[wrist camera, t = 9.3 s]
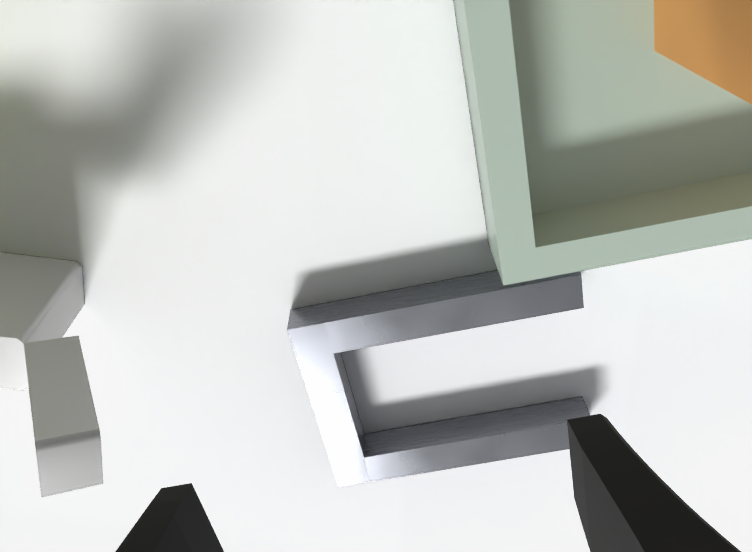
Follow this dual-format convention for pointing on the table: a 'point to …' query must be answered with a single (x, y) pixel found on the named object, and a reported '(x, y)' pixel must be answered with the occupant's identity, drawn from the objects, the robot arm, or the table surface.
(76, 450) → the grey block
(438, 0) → the table surface
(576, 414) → the frame
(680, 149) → the tray
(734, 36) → the pin
